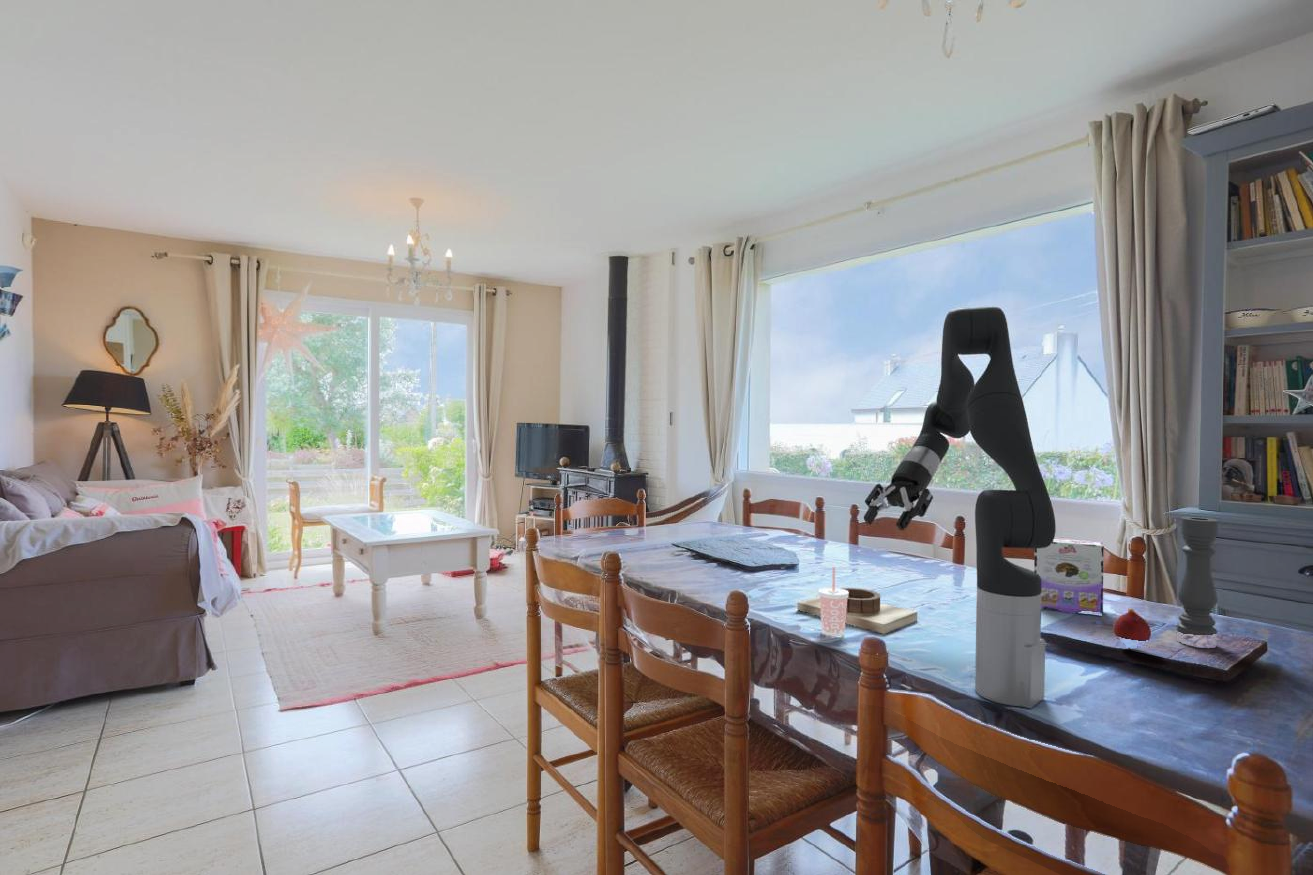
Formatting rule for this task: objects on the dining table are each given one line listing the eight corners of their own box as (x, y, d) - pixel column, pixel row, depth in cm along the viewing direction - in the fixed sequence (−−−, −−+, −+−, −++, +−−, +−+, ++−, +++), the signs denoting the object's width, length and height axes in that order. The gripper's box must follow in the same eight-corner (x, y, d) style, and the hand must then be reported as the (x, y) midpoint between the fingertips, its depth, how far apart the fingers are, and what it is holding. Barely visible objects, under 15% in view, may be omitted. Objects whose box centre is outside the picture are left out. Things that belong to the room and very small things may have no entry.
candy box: (1102, 611, 154) (1103, 541, 154) (1103, 617, 149) (1104, 545, 149) (1034, 602, 161) (1035, 535, 161) (1032, 608, 156) (1034, 539, 156)
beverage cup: (816, 636, 135) (816, 569, 135) (819, 627, 141) (820, 562, 141) (847, 640, 133) (848, 571, 133) (849, 631, 139) (850, 565, 139)
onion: (1152, 649, 128) (1153, 608, 128) (1148, 657, 124) (1148, 614, 124) (1115, 642, 132) (1116, 602, 132) (1110, 649, 128) (1111, 608, 128)
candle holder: (1224, 649, 128) (1227, 521, 128) (1187, 647, 129) (1190, 520, 129) (1204, 639, 134) (1207, 517, 134) (1169, 637, 136) (1172, 516, 135)
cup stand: (917, 620, 146) (917, 598, 146) (884, 634, 137) (884, 610, 137) (832, 600, 163) (832, 579, 163) (797, 610, 154) (797, 589, 154)
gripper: (882, 457, 154) (848, 509, 148) (937, 461, 142) (903, 518, 136) (897, 479, 157) (864, 531, 151) (951, 484, 145) (918, 541, 140)
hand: (882, 525), depth 144 cm, fingers open, 8 cm apart
